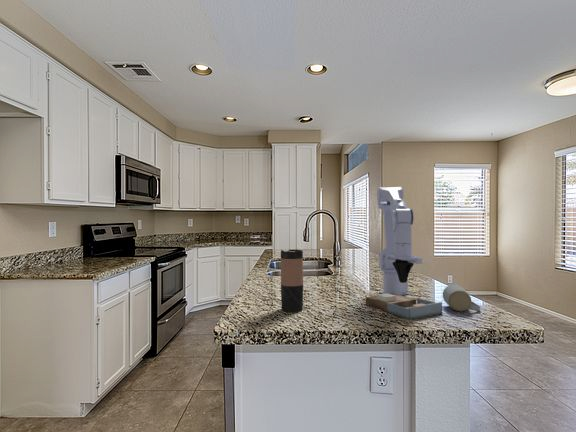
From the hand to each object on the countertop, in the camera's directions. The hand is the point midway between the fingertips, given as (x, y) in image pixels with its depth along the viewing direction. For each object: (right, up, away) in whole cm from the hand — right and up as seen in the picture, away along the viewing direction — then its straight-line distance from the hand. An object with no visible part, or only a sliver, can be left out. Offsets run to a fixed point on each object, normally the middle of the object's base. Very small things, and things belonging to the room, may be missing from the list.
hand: (403, 282), depth 113 cm
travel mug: (-39, -9, -3) cm, 40 cm away
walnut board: (-4, -9, +2) cm, 9 cm away
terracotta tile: (+4, -7, -7) cm, 11 cm away
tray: (+1, -8, -8) cm, 11 cm away
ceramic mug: (+18, -9, -4) cm, 21 cm away
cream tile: (-6, -5, 0) cm, 8 cm away
